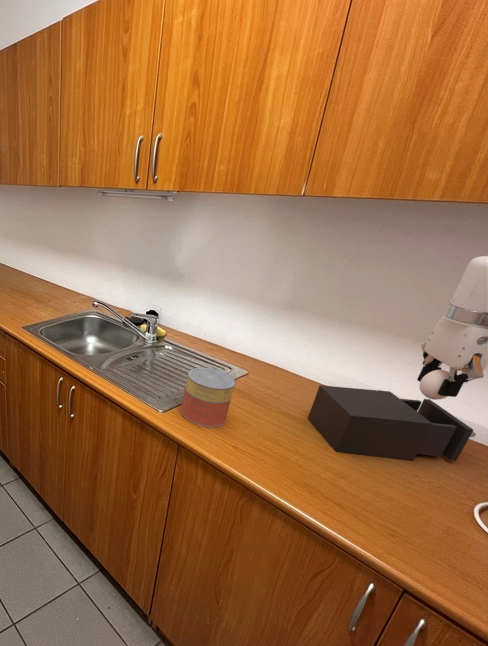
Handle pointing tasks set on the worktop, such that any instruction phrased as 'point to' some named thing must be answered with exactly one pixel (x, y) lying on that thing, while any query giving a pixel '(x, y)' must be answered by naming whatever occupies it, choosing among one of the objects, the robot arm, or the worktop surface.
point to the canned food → (207, 397)
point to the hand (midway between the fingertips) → (436, 387)
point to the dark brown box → (368, 422)
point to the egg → (433, 384)
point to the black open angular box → (441, 430)
